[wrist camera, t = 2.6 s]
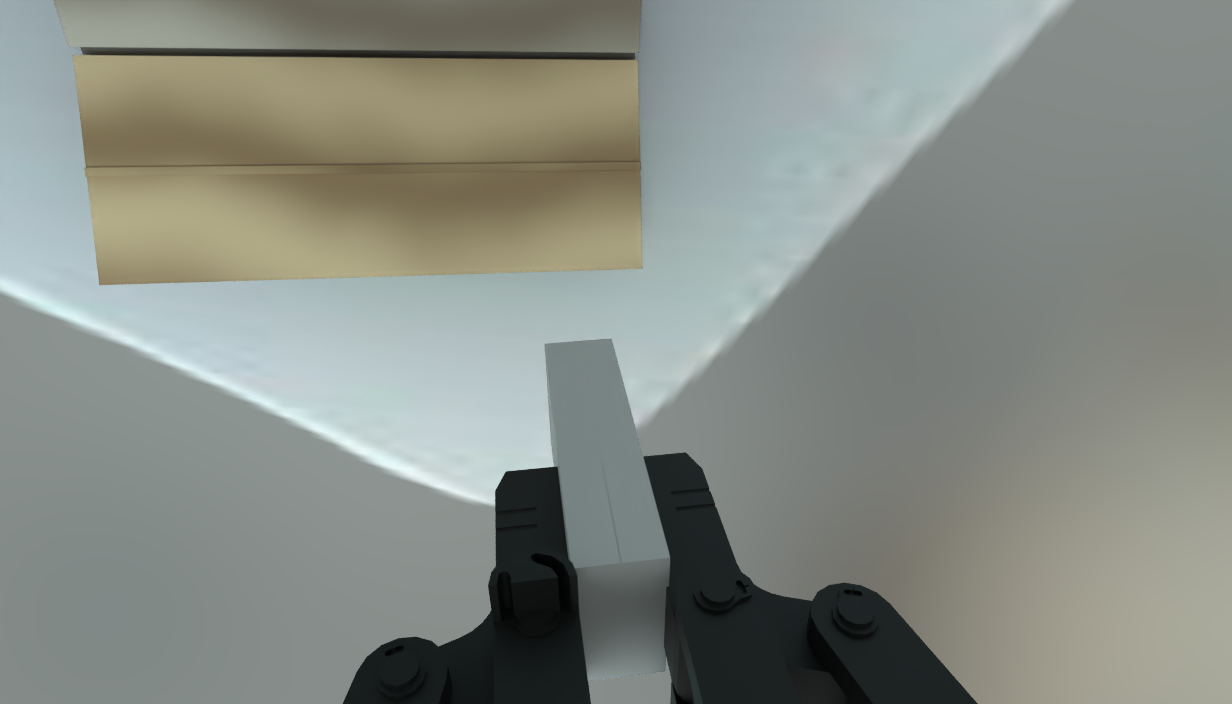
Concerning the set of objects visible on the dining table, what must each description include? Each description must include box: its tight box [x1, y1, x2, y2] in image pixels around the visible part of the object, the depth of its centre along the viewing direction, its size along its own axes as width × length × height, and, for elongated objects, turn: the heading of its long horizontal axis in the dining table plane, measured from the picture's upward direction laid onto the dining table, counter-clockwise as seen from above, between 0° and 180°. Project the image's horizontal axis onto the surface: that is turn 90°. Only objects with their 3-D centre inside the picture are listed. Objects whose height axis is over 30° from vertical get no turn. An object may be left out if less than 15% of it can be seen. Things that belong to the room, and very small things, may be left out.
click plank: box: [73, 55, 642, 285], centre depth 29 cm, size 8×20×1 cm, turn 88°
